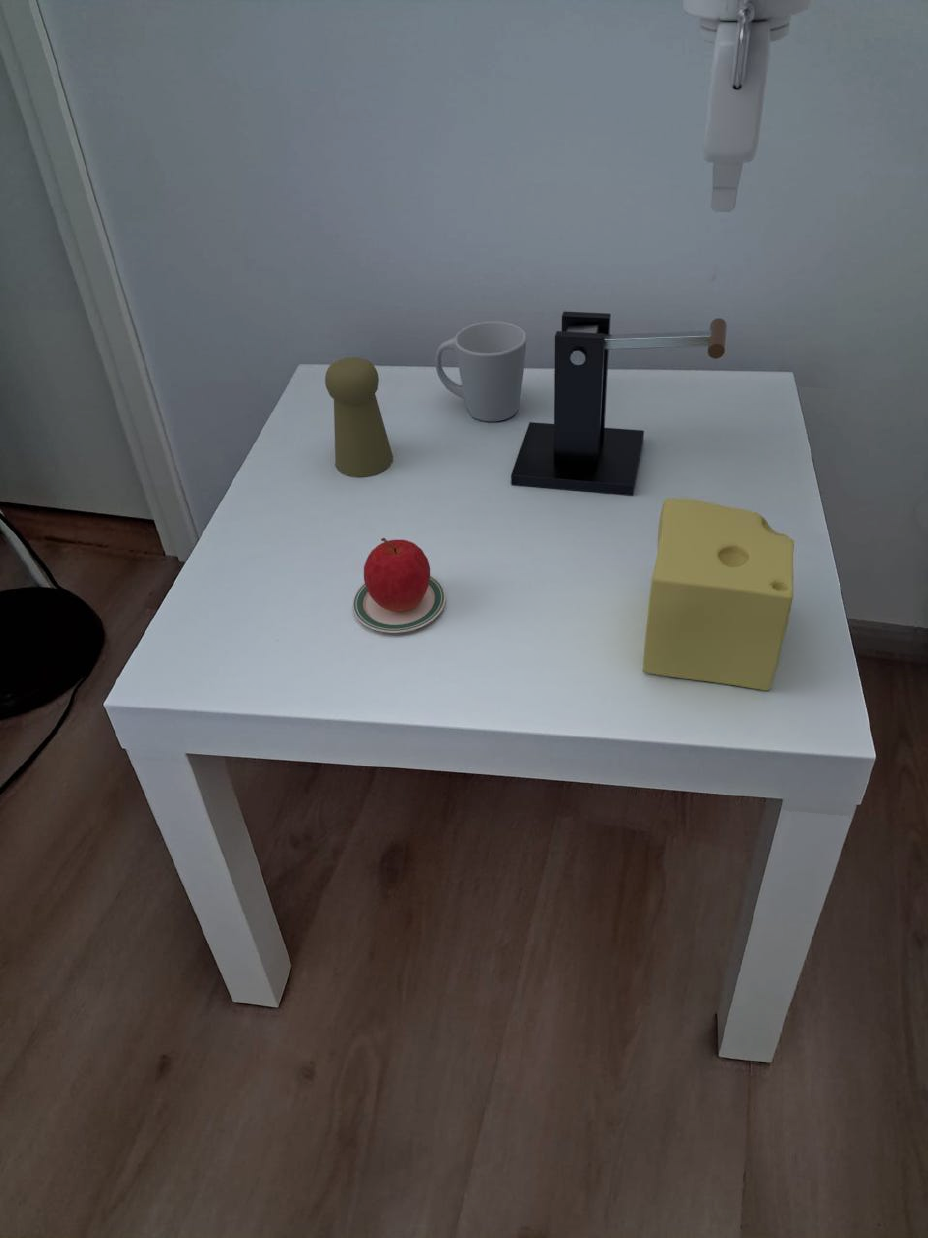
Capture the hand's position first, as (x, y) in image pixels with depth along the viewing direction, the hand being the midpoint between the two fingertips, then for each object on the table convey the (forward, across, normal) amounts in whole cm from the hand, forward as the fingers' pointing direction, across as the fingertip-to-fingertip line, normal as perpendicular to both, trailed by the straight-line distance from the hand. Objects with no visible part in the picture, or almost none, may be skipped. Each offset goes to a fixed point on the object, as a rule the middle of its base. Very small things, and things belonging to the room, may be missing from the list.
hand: (724, 186), depth 75 cm
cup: (+27, +9, +23) cm, 37 cm away
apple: (+27, -24, +23) cm, 43 cm away
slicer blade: (+15, 0, +5) cm, 16 cm away
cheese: (+27, -24, -3) cm, 36 cm away
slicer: (+27, 0, +11) cm, 29 cm away
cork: (+27, -3, +33) cm, 43 cm away
